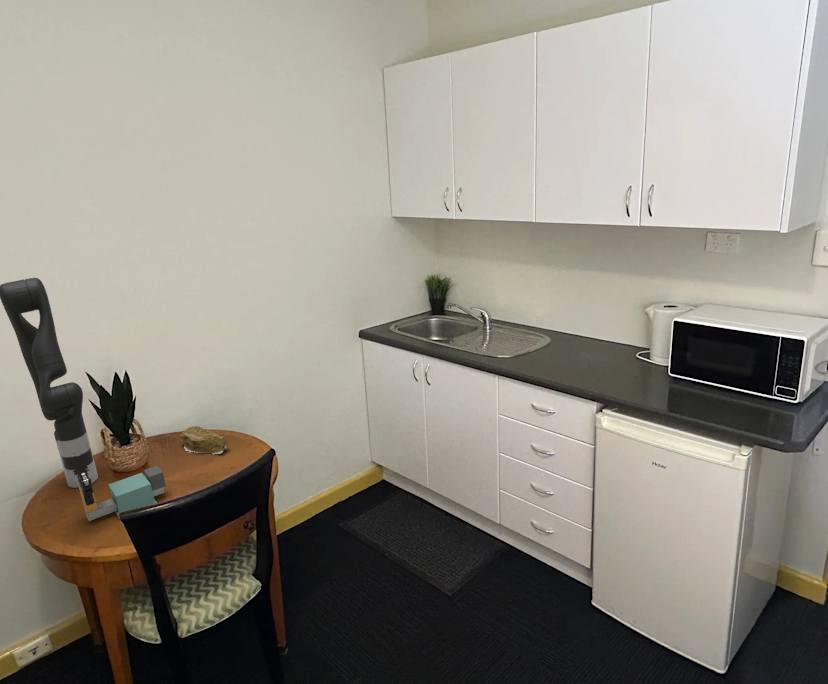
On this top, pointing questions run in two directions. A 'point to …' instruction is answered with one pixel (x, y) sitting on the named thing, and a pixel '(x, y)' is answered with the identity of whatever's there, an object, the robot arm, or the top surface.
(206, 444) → the stone
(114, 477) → the top surface
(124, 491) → the block
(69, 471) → the robot arm
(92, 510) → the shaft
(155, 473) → the block
